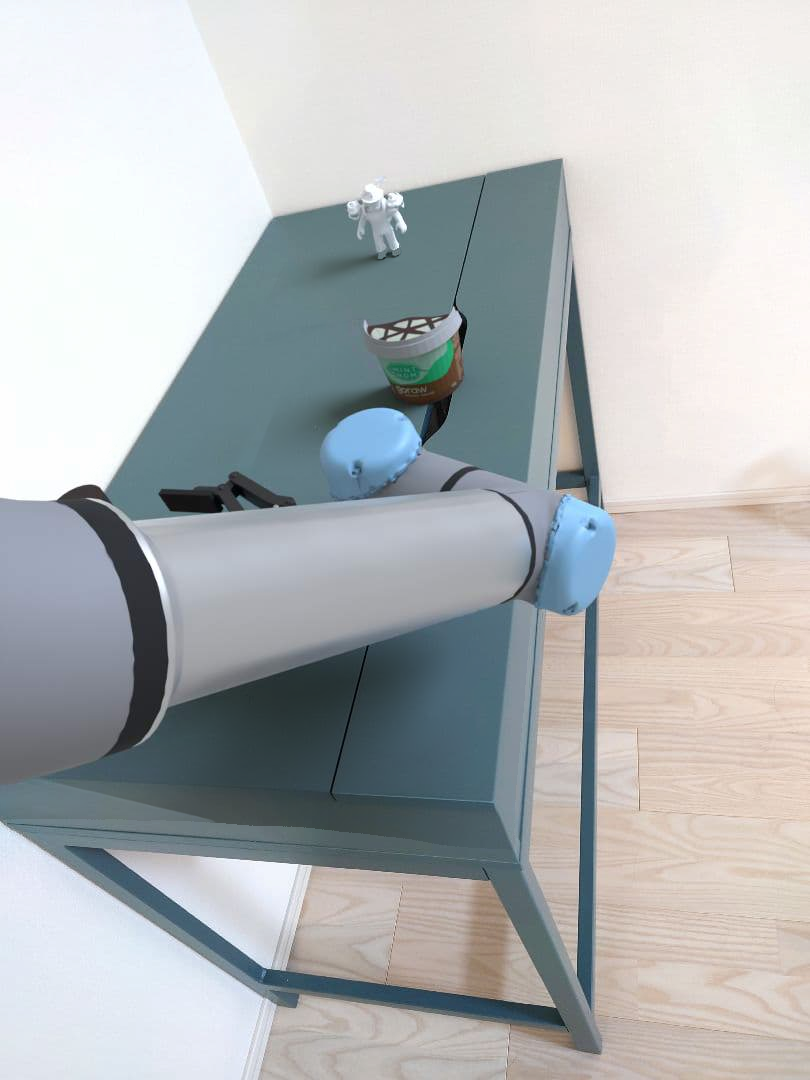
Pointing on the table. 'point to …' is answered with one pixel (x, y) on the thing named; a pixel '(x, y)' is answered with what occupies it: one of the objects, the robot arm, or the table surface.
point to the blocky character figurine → (378, 214)
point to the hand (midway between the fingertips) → (133, 549)
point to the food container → (419, 356)
